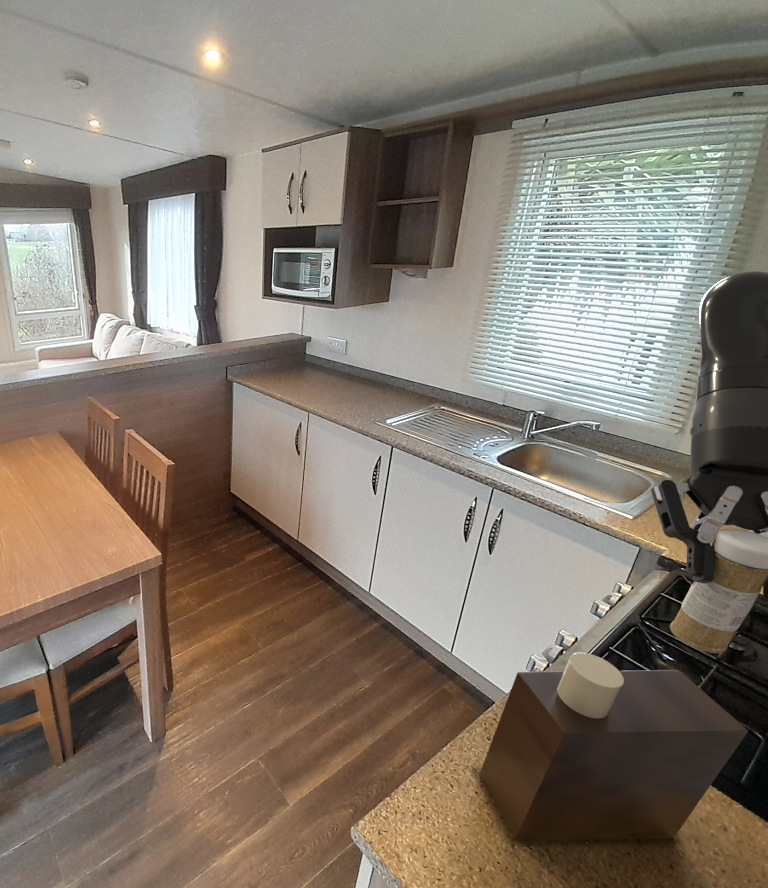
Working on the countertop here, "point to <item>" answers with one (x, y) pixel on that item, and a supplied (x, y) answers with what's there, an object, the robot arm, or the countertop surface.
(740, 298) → the robot arm
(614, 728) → the block
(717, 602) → the sprinkles bottle
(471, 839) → the countertop surface
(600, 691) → the cream squat cylinder
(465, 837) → the countertop surface
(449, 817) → the countertop surface
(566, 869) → the countertop surface
